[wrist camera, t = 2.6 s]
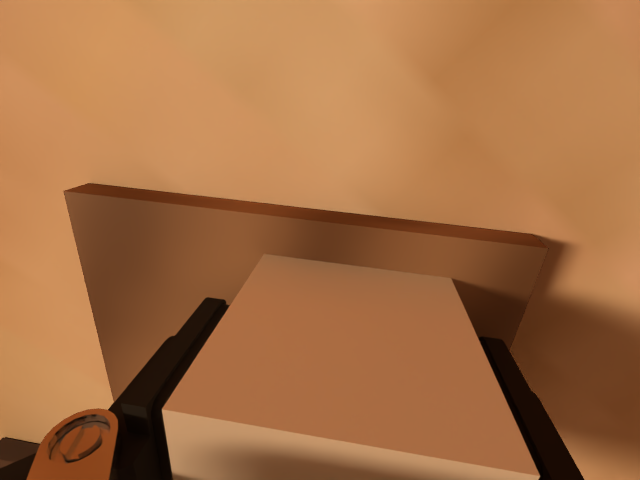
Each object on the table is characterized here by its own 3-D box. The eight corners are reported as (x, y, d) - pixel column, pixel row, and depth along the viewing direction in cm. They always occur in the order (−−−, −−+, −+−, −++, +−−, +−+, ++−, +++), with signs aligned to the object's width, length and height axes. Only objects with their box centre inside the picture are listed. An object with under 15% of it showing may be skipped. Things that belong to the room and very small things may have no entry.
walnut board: (532, 234, 10) (548, 248, 9) (431, 513, 15) (435, 540, 15) (88, 183, 11) (63, 190, 10) (145, 458, 17) (132, 479, 16)
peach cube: (450, 278, 10) (540, 476, 5) (414, 413, 12) (448, 645, 7) (264, 253, 10) (161, 408, 5) (262, 388, 12) (190, 588, 7)
